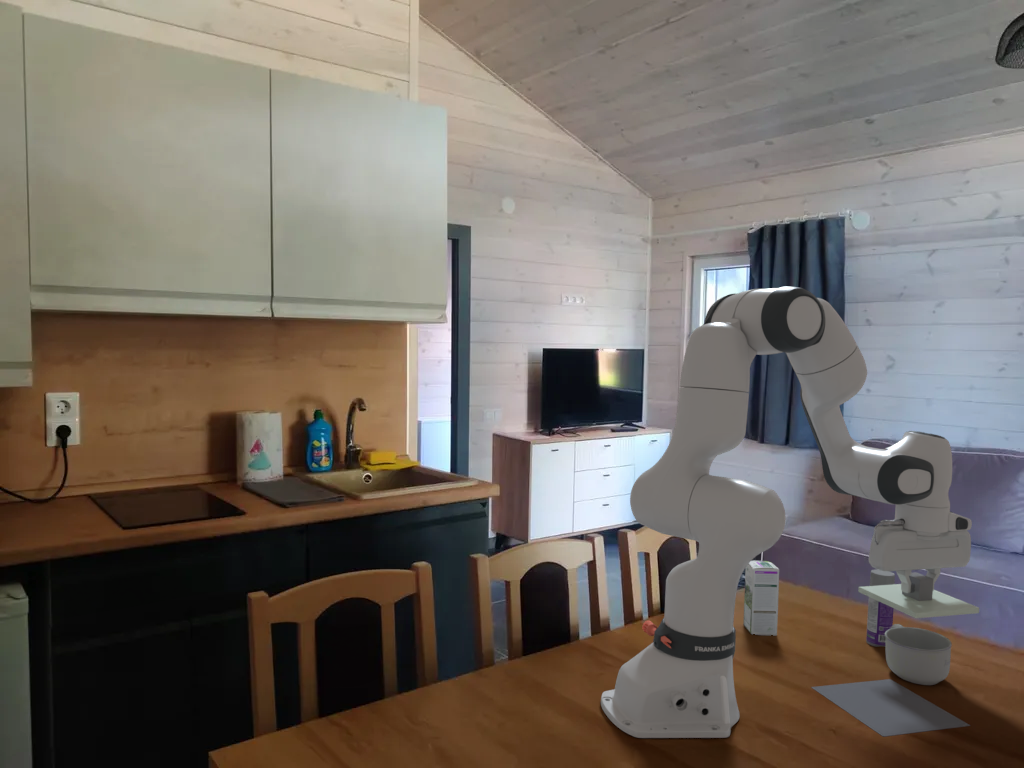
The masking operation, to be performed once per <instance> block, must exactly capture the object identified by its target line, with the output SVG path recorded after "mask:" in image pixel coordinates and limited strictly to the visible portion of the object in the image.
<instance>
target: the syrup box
mask: <svg viewBox="0 0 1024 768" xmlns="http://www.w3.org/2000/svg"><path fill="white" fill-rule="evenodd" d="M744 571H745V573H744V574H745V575H744V595H743V597H744V601H743V624H742V625H743V626H744V628H746V630H747V631H748V632H749V633H750V634H751V635H753V634H755V635H757V636H771V635H773V637H774V636H776V637H777V635H778V620H779V619H778V617H779V615H778V613H779V591H780V590H779V588H780V586H779V585H780V584H779V583H780V568H779V567H777V566H776V565H775V564H774V563H773V562H771V561H768V560H751V561H750V562H749V564H748V565H747V566H746V568H745V569H744Z"/></svg>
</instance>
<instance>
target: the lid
mask: <svg viewBox="0 0 1024 768" xmlns="http://www.w3.org/2000/svg"><path fill="white" fill-rule="evenodd" d="M909 578H910V581H911V583H914V584H915V588H914V589H915V592H914V593H905V592H903V591H902V590H901V583H898V584H897V583H895V584H893V585H878V586H870V585H866V586H858V593H859V594H861V595H865V596H866V597H868V598H869V597H870V598H873V599H875V600H877V601H879V602H881V603H883V604H886V605H888V606H890V607H892V608H894V609H893V610H897V611H899V612H901V613H903V614H905V615H907V616H910V617H912V618H914V619H926V618H938V617H949V616H959V615H960V616H962V615H972V614H973V615H974V614H979V613H980V607H978V606H976V605H974V604H971V603H969V602H966V601H964V600H961V599H958V598H956V597H953V596H951V595H949V594H946V593H944V592H941V591H939V590H936V589H934V591H933V579H932V578H930V577H927V576H926V575H925V574H923V573H920V572H918V571H917V572H911V575H910V576H909Z"/></svg>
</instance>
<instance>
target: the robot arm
mask: <svg viewBox="0 0 1024 768" xmlns="http://www.w3.org/2000/svg"><path fill="white" fill-rule="evenodd" d="M781 353H785V355H786V356H787V359H788V360H789V364H790V365H791V367H792V369H793V371H794V373H795V375H796V377H797V379H798V381H799V384H800V387H801V388H800V392H799V396H800V402H801V406H802V409H803V413H804V415H805V417H806V420H807V421H808V422H807V423H808V425H809V428H810V429H811V432H812V435H813V438H814V441H815V443H816V446H817V449H818V450H819V454H820V459H821V466H822V467H821V468H822V473H823V477H824V480H825V481H826V484H827V485H828V486H829V487H830V488H831V489H832V490H833V491H834V492H836V493H837V494H842V495H847V496H848V495H849V496H855V497H860V498H863V499H868V500H871V501H873V502H874V501H875V502H880V503H884V504H888V505H895V509H894V510H895V512H894V513H895V514H894V519H883V520H880V521H879V523H877V524H876V525H875V526H874V529H873V535H872V538H871V541H870V547H869V552H868V563H869V564H870V566H871V567H872V568H874V570H880V571H884V572H887V571H889V572H896V575H897V576H898V579H899V580H900V582H901V583H900V584H901V590H902V591H903V592H905V593H914V592H915V589H914V588H915V584H914V583H911V581H910V578H909V576H910V575H911V573H912V571H917V570H925V572H926V575H925V576H927V577H930V578H932V579H933V591H934V590H935V583H936V582H937V580H938V578H939V577H940V575H941V569H949V568H965V567H966V566H967V565H968V564H969V562H970V560H971V550H972V549H971V548H972V538H971V537H972V536H971V534H970V532H969V531H970V530H971V529H972V526H973V525H972V524H973V522H972V519H970V518H969V517H966V516H962V515H961V514H957V513H954V512H952V511H950V510H951V501H950V497H949V491H950V488H951V486H952V482H953V481H952V479H953V455H952V447H951V443H950V442H949V440H948V439H946V438H945V437H944V436H941V435H940V434H935V433H934V434H933V433H927V432H924V431H917V430H916V431H915V430H909V431H905V432H904V433H903V435H902V438H900V439H899V441H897V442H896V443H894V444H892V445H889V446H888V447H885V448H878V447H871V446H866V445H864V444H862V443H859V442H858V441H856V440H854V439H853V437H852V436H851V435H850V432H849V430H848V427H847V425H846V421H845V419H844V416H843V413H842V411H841V408H840V407H841V405H843V404H844V403H846V402H848V401H849V400H851V399H852V398H853V397H855V396H856V395H857V394H858V393H859V392H861V390H862V388H863V387H864V385H865V382H866V380H867V378H868V377H867V376H868V368H867V364H866V360H865V359H864V356H863V354H862V351H861V349H860V348H859V346H858V343H857V342H856V340H855V339H854V336H853V334H852V333H851V330H850V329H849V328H848V326H847V324H846V323H845V322H844V320H843V319H842V317H841V316H840V315H839V313H838V312H837V310H836V309H835V308H834V307H833V306H832V304H831V303H830V302H828V301H827V300H825V299H823V298H821V297H817V296H816V295H815V294H813V293H812V292H811V291H809V290H807V289H805V288H802V287H797V286H786V285H785V286H781V287H772V288H770V287H769V288H763V287H762V288H753V289H748V290H747V289H746V290H744V291H742V292H738V293H729V294H726V295H725V296H723V297H720V298H718V299H717V300H716V301H715V302H714V303H712V304H711V306H710V307H709V309H708V311H707V313H706V315H705V318H704V322H703V324H702V325H699V326H698V327H697V328H695V329H694V330H693V331H692V333H691V334H690V335H689V339H688V342H687V345H686V349H685V353H684V356H683V362H682V366H681V373H680V380H679V381H680V382H679V388H678V389H679V391H678V400H677V410H676V417H675V424H674V429H673V431H672V432H673V433H672V436H671V439H670V441H669V443H668V446H667V448H666V450H665V452H664V453H663V455H661V456H660V459H659V460H657V462H656V463H655V464H654V465H653V466H651V467H650V468H648V469H647V470H645V471H644V472H641V474H640V475H639V476H638V478H637V479H635V482H634V484H633V485H632V487H631V490H630V496H629V497H630V498H629V503H630V505H629V506H630V508H631V509H630V510H631V512H632V515H633V517H634V519H635V521H636V522H637V523H638V524H639V525H642V526H644V527H646V528H649V529H650V530H653V531H655V532H657V533H660V534H661V535H667V536H672V537H677V538H681V539H686V540H689V541H690V540H691V541H695V542H698V553H697V556H696V558H694V559H690V560H687V561H683V562H682V563H679V564H677V565H676V566H674V567H673V568H672V569H671V571H670V572H669V573H668V575H667V577H666V579H665V590H664V591H665V595H664V616H663V618H662V620H661V621H660V624H659V625H658V626H657V625H656V624H655V623H653V621H651V620H645V621H644V622H643V623H642V626H641V627H642V631H643V632H644V633H646V634H647V635H648V636H650V637H653V639H652V642H651V643H650V644H649V645H647V647H645V648H644V649H642V650H641V651H640V652H638V653H637V654H636V655H635V656H633V657H632V658H630V659H629V660H628V661H627V662H624V663H623V664H622V665H621V667H620V668H619V670H618V673H617V677H616V681H615V686H614V689H609V690H605V691H603V692H602V694H601V697H600V706H601V709H602V711H603V713H604V714H605V715H606V716H607V718H608V719H609V721H610V722H612V724H614V725H615V726H616V728H619V730H621V731H622V732H624V733H626V734H627V735H630V736H632V737H634V738H638V739H669V738H670V739H679V738H680V739H681V738H683V739H686V738H687V739H689V738H690V739H694V738H695V739H696V738H697V739H698V738H699V739H700V738H701V739H711V738H712V739H714V738H716V739H717V738H719V739H721V738H722V739H723V738H729V737H730V735H731V733H732V730H731V729H732V727H733V726H734V725H735V724H736V723H737V722H738V721H739V720H740V717H741V716H740V711H739V707H738V706H739V705H738V703H737V702H738V701H737V698H736V697H737V696H736V691H735V690H736V689H735V682H734V663H733V659H734V657H735V652H736V636H737V635H736V633H737V632H736V628H735V627H734V617H735V607H736V599H737V598H736V597H737V593H738V592H737V591H738V585H739V582H740V579H741V576H742V574H743V573H744V571H745V570H746V566H747V565H748V564H749V562H750V561H753V560H754V558H756V557H757V556H759V555H760V554H762V553H764V552H765V551H768V550H769V549H771V548H772V547H773V546H774V545H776V543H777V542H778V541H779V540H780V538H781V536H782V534H783V532H784V529H785V526H786V512H785V506H784V504H783V501H782V500H781V498H780V496H779V495H778V493H777V492H776V491H775V490H773V489H772V488H769V487H767V486H764V485H761V484H758V483H755V482H752V481H749V480H746V479H738V478H732V477H727V476H726V477H725V476H719V475H711V474H710V470H711V469H710V468H711V466H712V463H713V461H714V460H715V459H716V457H718V456H719V455H722V454H725V453H728V452H730V451H732V450H734V449H735V448H737V447H738V446H739V445H740V444H741V443H742V442H743V440H744V438H745V436H746V432H747V422H748V410H749V397H750V396H749V395H750V382H751V381H750V380H751V377H750V376H751V375H750V374H751V370H750V368H751V365H752V364H753V360H754V359H755V357H756V355H759V356H766V355H776V354H781Z"/></svg>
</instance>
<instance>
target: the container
mask: <svg viewBox="0 0 1024 768" xmlns="http://www.w3.org/2000/svg"><path fill="white" fill-rule="evenodd" d="M895 582H896V574H895V573H894V572H893V571H887V572H884V571H880V570H878V569H871V570H870V578H869V586H878V585H893V584H896V583H895ZM867 601H868V604H867V605H868V606H867V620H866V621H867V624H866V637H865V638H866V639H865V641H866V644H868V645H870V646H872V647H886V645H885V643H886V638H885V632H886V631H887V630H888V629H891V627H892V625H894V624H893V623H894V610H895V609H894V608H892V607H890V606H888V605H886V604H883V603H881V602H879V601H877V600H875V599H873V598H870V597H868V600H867Z"/></svg>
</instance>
